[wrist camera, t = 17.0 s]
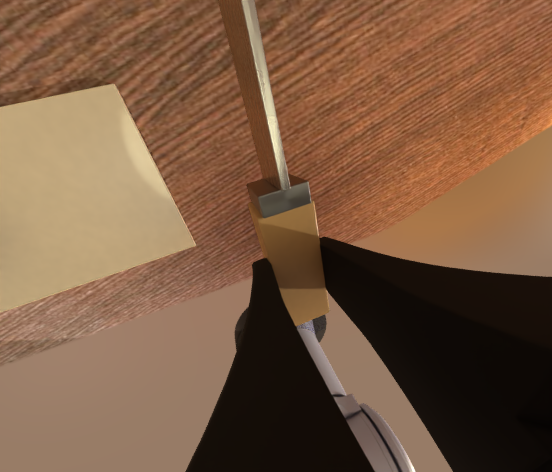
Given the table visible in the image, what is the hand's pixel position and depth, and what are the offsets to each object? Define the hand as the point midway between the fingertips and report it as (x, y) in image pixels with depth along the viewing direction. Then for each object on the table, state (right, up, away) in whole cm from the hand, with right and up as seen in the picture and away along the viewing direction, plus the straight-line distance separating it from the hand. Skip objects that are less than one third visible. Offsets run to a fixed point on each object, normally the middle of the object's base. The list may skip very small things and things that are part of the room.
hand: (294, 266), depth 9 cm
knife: (-1, +4, -1) cm, 4 cm away
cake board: (-17, +2, +2) cm, 17 cm away
